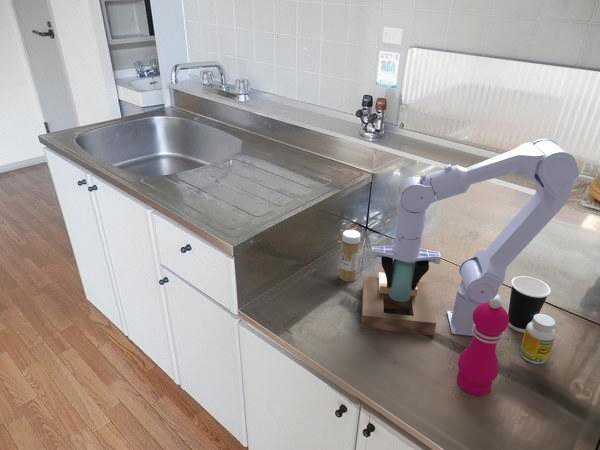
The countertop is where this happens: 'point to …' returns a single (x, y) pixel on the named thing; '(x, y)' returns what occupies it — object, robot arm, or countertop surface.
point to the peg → (401, 280)
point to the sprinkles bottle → (349, 255)
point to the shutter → (385, 290)
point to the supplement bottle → (538, 339)
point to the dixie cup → (526, 301)
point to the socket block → (418, 306)
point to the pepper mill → (482, 349)
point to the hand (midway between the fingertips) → (400, 286)
